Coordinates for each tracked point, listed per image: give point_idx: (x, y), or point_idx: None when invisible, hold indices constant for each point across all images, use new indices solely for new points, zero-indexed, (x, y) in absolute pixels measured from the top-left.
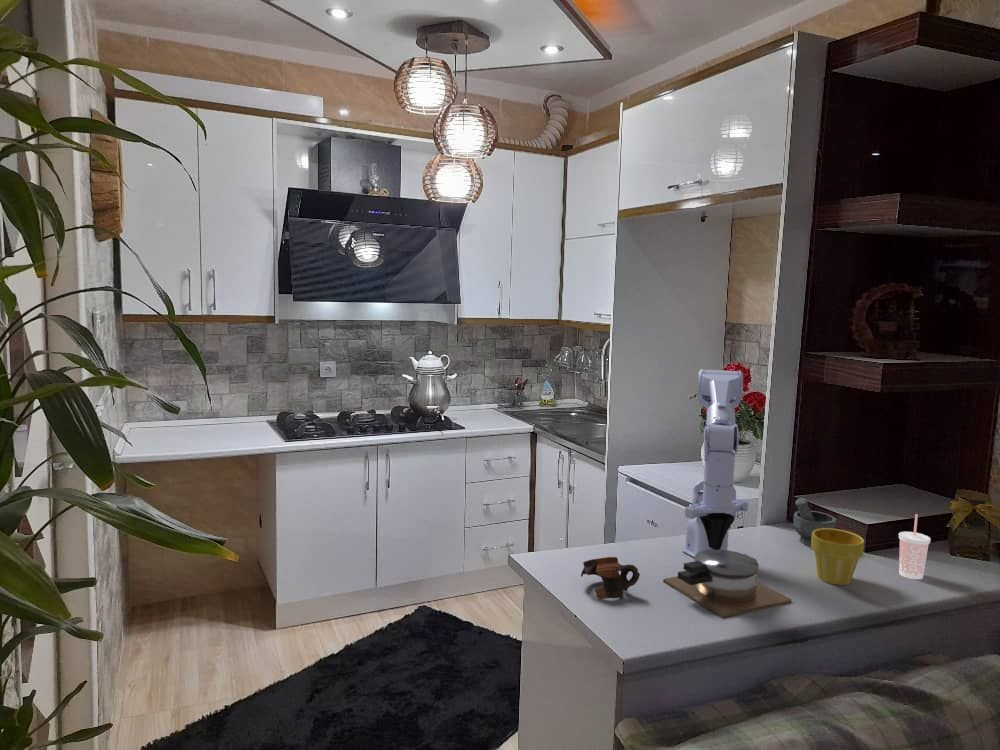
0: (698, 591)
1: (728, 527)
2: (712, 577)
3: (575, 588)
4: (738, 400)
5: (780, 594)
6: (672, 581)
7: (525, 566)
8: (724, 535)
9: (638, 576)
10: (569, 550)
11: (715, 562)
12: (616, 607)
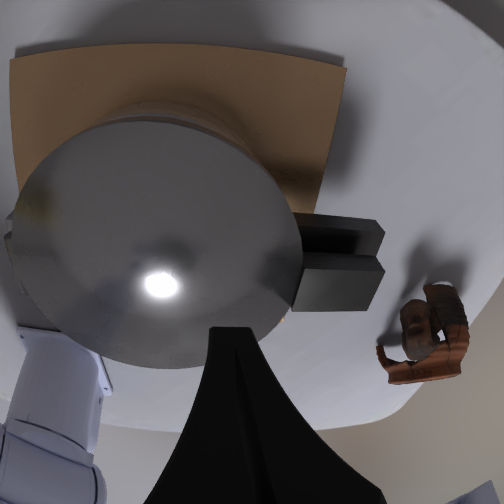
0: None
1: (182, 459)
2: None
3: (438, 335)
4: None
5: (15, 101)
6: None
7: (409, 397)
8: (205, 400)
9: (419, 317)
10: (312, 428)
11: (219, 282)
12: (467, 256)
